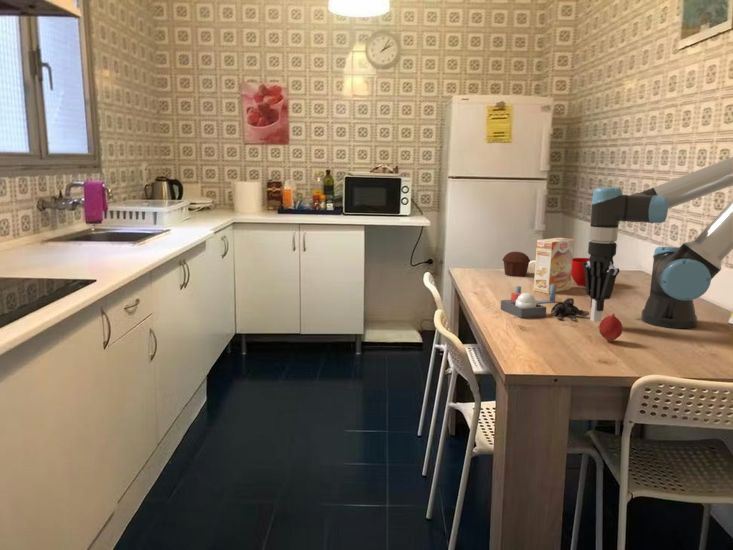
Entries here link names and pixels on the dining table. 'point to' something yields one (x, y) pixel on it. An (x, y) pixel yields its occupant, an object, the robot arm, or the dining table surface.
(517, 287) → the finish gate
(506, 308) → the dome base
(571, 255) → the coffeecake box
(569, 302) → the stuffed animal
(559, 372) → the dining table surface
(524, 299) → the dome
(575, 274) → the ceramic cup
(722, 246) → the robot arm
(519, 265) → the muffin
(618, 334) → the onion
